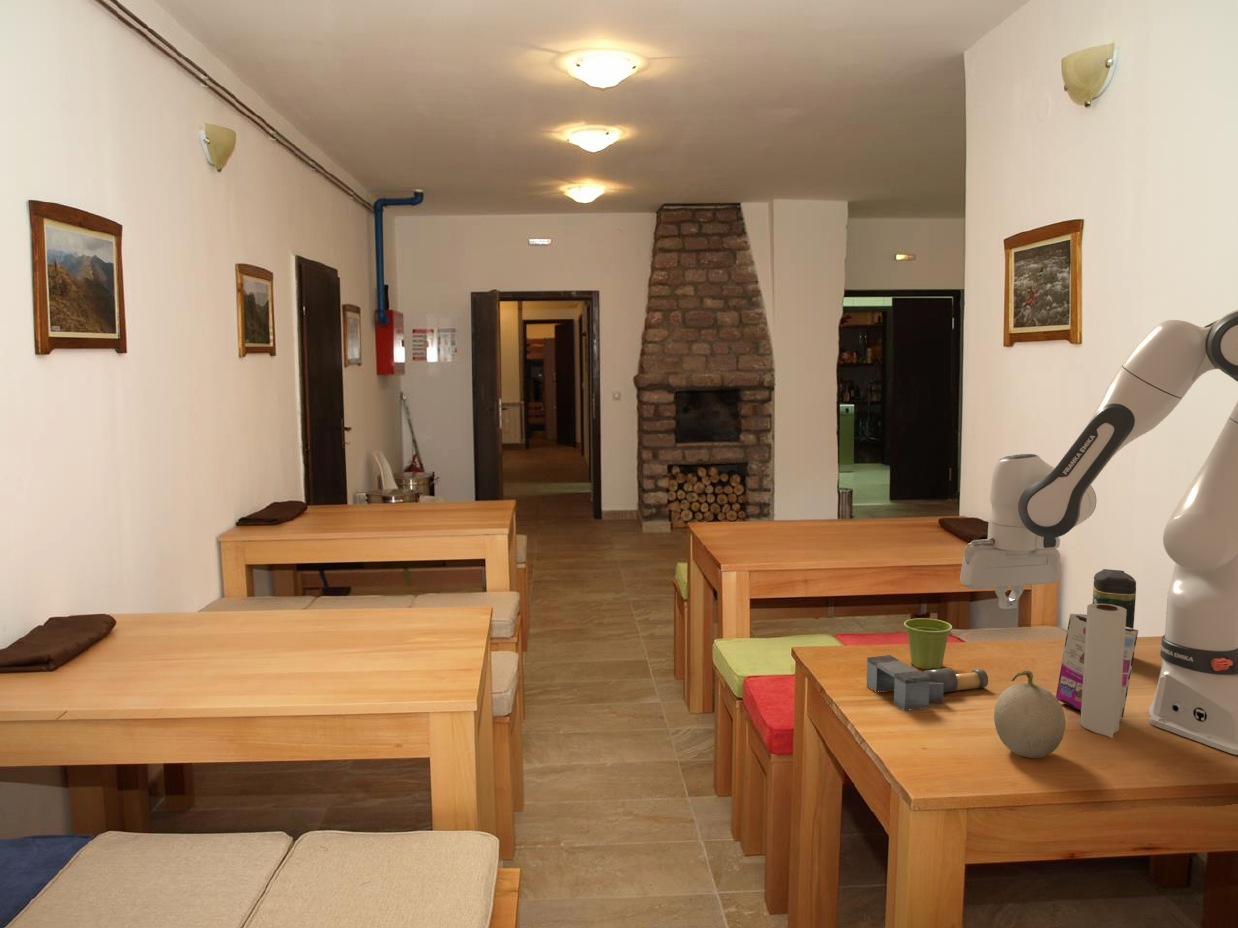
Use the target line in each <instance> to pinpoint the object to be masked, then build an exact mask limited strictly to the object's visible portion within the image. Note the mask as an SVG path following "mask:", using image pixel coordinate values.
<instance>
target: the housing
mask: <svg viewBox="0 0 1238 928" xmlns="http://www.w3.org/2000/svg"><path fill="white" fill-rule="evenodd" d="M922 672H923V671H919V670H918V669H916V668H915V666H913V665H909V664H907V663H905V662H903V661H902V660H900V659H898V658H896V657H894V656H893V655H891V654H888V655H878V656H877V655H876V656H869V657H868V656H867V661H866V685H867V686H869V687H870V688H872V689H873V690H874V691H876V692H878V691H879V692H878V693H883V692H882V691H886V692H893V705H895V706H896V705H897V706H896V707H898V708H900V709H901V708H902V709H901V710H903V709H904V710H906V711H910V710H909V709H914V710H919V709H920V708H922V709H929V707H930V706H929V705H930V704H929V703H933V704H944V693H943V689H944V684H943V683H935V682H930V677H929V676H927V675H925V674H924V673H922ZM867 686H866V687H867ZM870 688H869V689H870ZM873 690H872V691H873ZM892 690H894V691H892ZM874 691H873V692H874ZM880 691H881V692H880ZM876 692H875V693H876ZM904 710H903V711H904Z"/></svg>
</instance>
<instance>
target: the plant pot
mask: <svg viewBox="0 0 1238 928" xmlns="http://www.w3.org/2000/svg"><path fill="white" fill-rule="evenodd" d="M903 625H904V627H905V630H906V631H905V632H906V634H907V638H908V646H909V655H910V663H911V665H912V666H913V667H914V668H917V669H922V670H932V669H934V670H935V669H942V667H943V662H944V658H945V657H944V656H945V652H946V647H947V642H948V637H949V636H950V632H951V631H952V630H953V626H952V624H950V622H947V621H944V620H941V619H934V618H927V617H926V618H923V617H921V618H912V619H911V618H910V619H907V620H905V621H904V622H903Z"/></svg>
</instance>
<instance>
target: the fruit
mask: <svg viewBox="0 0 1238 928" xmlns="http://www.w3.org/2000/svg"><path fill="white" fill-rule="evenodd" d="M1021 676H1026V677H1027V683H1017V684H1014V685H1011V686H1008V687H1007V688H1006V689H1004V690H1003V692H1002V693H1000V695H999V696H998V698H997V700H996V703H995V706H994V710H993V718H994V719H993V720H994V727H995V730H996V733H997V735H998V737H999V739H1000V741H1001V742H1002V744H1003V745H1004V746H1005V747H1006V748H1007V749H1008V750H1010V751H1011V752H1012V753H1014V754H1016V755H1018V756H1020V757H1023V758H1029V759H1039V758H1044V757H1046V756H1048V755H1050V754H1052V753H1053V752H1054V751H1056V749H1058V747H1059V745H1060V744H1061V743H1062V741H1063V739H1064V735H1065V730H1066V716H1065V711H1064V709H1063V707H1062V704H1061V701H1058V699H1057V698H1056V695H1055V694H1053V693H1052V692H1051V691H1049V689H1047V688H1045V687H1043V686H1041V685H1038V684H1036V683H1035V684H1034V683H1033V678H1034V674H1033V672H1032V671H1030V670H1022V671H1020V672H1018V673H1017V674H1015V675H1014V676H1013V677H1012V678H1011V682H1014V681H1015V680H1016V679H1017V677H1021Z"/></svg>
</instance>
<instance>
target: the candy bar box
mask: <svg viewBox="0 0 1238 928" xmlns="http://www.w3.org/2000/svg"><path fill="white" fill-rule="evenodd" d="M1068 619H1069V620H1068V625H1067V630H1066V637H1065V644H1064V647H1063V655H1062V659H1061V664H1060V665H1061V666H1060V672H1059V677H1058V684H1057V689H1056V695H1055V697H1056V698H1057V699H1058V701H1059V702H1060V703H1063V704H1066V705H1068V706H1070V707H1072V708H1075V709H1077V710H1079V711H1081V705H1082V688H1083V671H1084V654H1085V637H1086V621H1087V614H1082V613H1069V618H1068ZM1138 633H1139V630H1138V629H1135V628H1133V629H1132V628H1129V627H1126V628H1125V643H1124V659H1123V674H1122V690H1121V705H1120V721H1123V719H1124V716H1125V715H1124V714H1125V710H1126V709H1125V708H1126V702H1127V696H1128V690H1129V685H1130V679H1131V673H1132V668H1133V663H1134V657H1135V651H1136V645H1137V640H1138Z"/></svg>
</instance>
